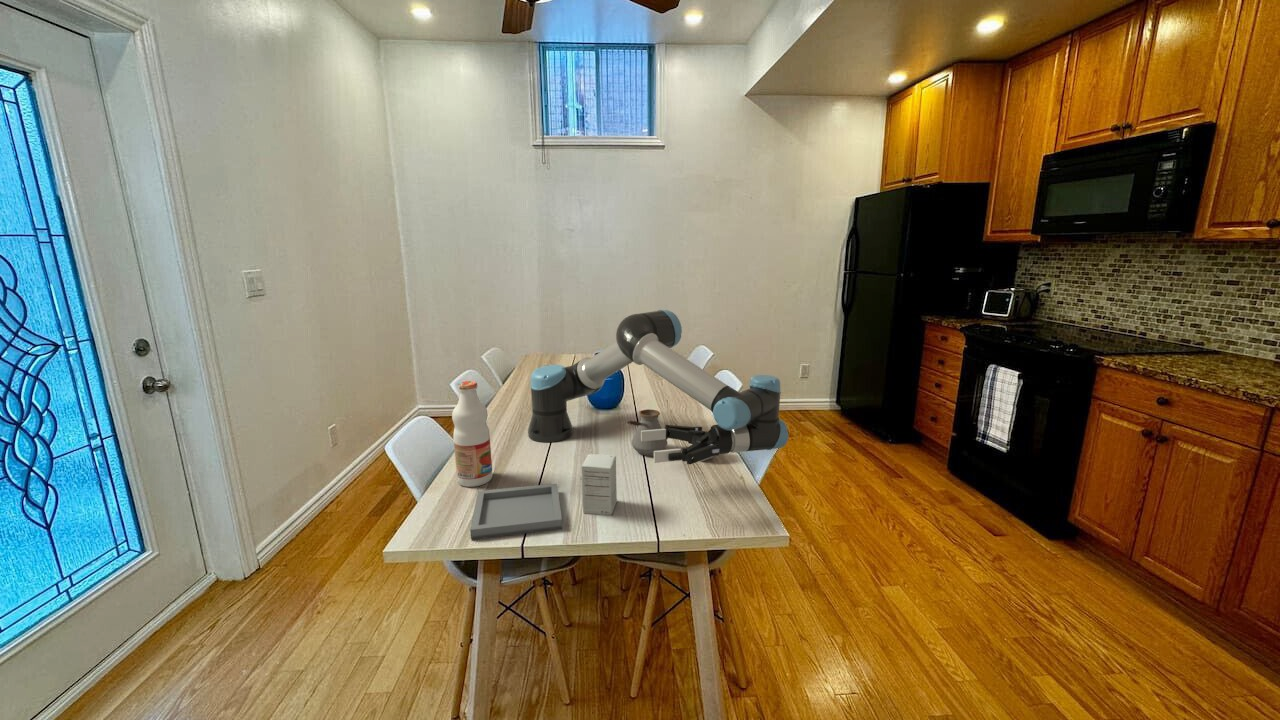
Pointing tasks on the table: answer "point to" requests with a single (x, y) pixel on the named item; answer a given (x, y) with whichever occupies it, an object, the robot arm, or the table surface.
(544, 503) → the tray
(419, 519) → the table surface
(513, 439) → the table surface
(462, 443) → the fruit juice
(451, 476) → the table surface
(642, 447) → the coffee pot
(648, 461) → the table surface
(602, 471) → the supplement box
